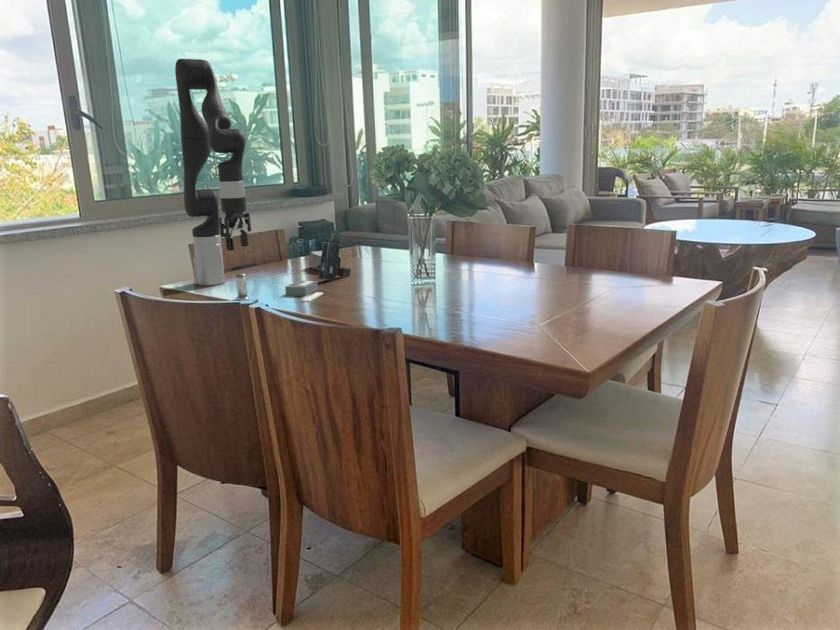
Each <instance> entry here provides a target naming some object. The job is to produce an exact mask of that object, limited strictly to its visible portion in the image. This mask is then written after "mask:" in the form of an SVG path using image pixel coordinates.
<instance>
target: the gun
mask: <svg viewBox="0 0 840 630" xmlns="http://www.w3.org/2000/svg"><path fill="white" fill-rule="evenodd" d="M335 236H336V235H335V233H334V232H331V234H330V238H329V239H328V241H323V242H322V247H321V251H322V255H321V259H320V262H321V264H320V271H318V272H319V274H318V276H317V279H318V280H326V281H335V279H336V277H337V276H338V277H341V278H342V277H345V276H347V277H349V276H351V270H352V269H351V268H349V267H346V268H345V267H341V262H342V261H341V257H340V244H339V243H335V242H336V239H335Z"/></svg>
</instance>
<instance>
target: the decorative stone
mask: <svg viewBox="0 0 840 630" xmlns="http://www.w3.org/2000/svg"><path fill="white" fill-rule="evenodd" d="M309 254H310V255H309V256H310V258H309V267H310V268H311V269H312V270H315V271H317V272H320V264H321V262H320V259H321V255H322V250H318V251H317V250H315V251H311V252H310V253H309Z"/></svg>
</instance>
